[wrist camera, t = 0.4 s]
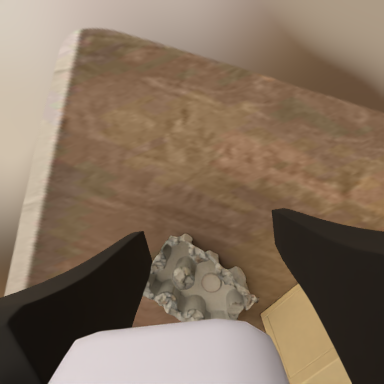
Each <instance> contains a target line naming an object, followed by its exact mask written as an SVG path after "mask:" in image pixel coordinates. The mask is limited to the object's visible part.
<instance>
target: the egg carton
mask: <svg viewBox="0 0 384 384" xmlns="http://www.w3.org/2000/svg"><path fill="white" fill-rule="evenodd" d="M143 296H145V297H147V298H149V299H152V300H154V301H156V302H157V303H158V305H159V306H163V307H164V309H165V311H166V313H167V314H170V315H173V316H174V317H176V318H177V319H178V320H180V321H181V322H189V321H198V320H207V319H216V318H217V319H227V320H237V319H238V315H239V313H240V312H241V311H242V310H243V309H244V308H245V309H246V310H248V309H249V308H250V307H251V306H252V305H253V303H254V302H256V303H258V301H259V297H258V298H256V297H255V295H253V294H250V293H249V291H248V287H247V284H246V277H245V275H244V273H243V271H242V270H241V269H240V268H239V267H237V266H235V267H234V268H231V269H225V268H223V267H222V266H220V264H219V260H218V254H216V253H214V252H212V251H210V250H208V251H207V252H204V251H202V250H201V249H199V248H197V247H196V246H194V245H192V238H191V237H190V236H189V235H188V234H183V235H182V236H180V237H174V236H170V237H169V239H168V240H167V241H166V242H165V243H164V245H163V247H162V249H161V251H160V253H159V254H158V255H157V256H156V258H155V259H154V261H153V263H152V266H151V271H150V276H149V279H148V282H147V285H146V288H145V290H144V293H143Z"/></svg>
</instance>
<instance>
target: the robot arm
mask: <svg viewBox="0 0 384 384" xmlns="http://www.w3.org/2000/svg"><path fill="white" fill-rule="evenodd" d="M272 218H273V228H274V238H275V245H276V247H277V249H278V251H279V253H280V255H281V257H282V259H283V261H284V262H285V264H286V265H287V267H288V269H289V270H290V272H291V273H292V275H293V276H294V278H295V279H296V280H297V282H298V283H299V285H300V286H301V288H302V289H303V291H304V292H305V294H306V295H307V297H308V299H309V300H310V302H311V304H312V305H313V307H314V309H315V311H316V313H317V315H318V317H319V319H320V321H321V322H322V324H323V326H324V328H325V330H326V332H327V334H328V336H329V338H330V340H331V342H332V344H333V346H334V348H335V350H336V352H337V354H338V356H339V358H340V360H341V362H342V364H343V366H344V368H345V370H346V372H347V375H348V377H349V379H350V381H351V383H352V384H384V232H382V231H374V230H368V229H362V228H356V227H351V226H346V225H342V224H337V223H333V222H330V221H326V220H322V219H319V218H315V217H312V216H309V215H306V214H303V213H300V212H296V211H293V210H290V209H285V208H282V209H276V210H272ZM151 266H152V258H151V255H150V252H149V248H148V245H147V242H146V238H145V235H144V231H140V232H134V233H131V234H129V235H127V236H126V237H124V238H122V239H121V240H119V241H118V242H116V243H115V244H113V245H112V246H110V247H109V248H107V249H105V250H104V251H102V252H101V253H99V254H97V255H96V256H94V257H92V258H91V259H89V260H88V261H86V262H84V263H82V264H80V265H79V266H77V267H75V268H73V269H71V270H69V271H67V272H65V273H63V274H60V275H58V276H56V277H54V278H51V279H49V280H47V281H45V282H42V283H40V284H37V285H35V286H32V287H30V288H27V289H24V290H22V291H19V292H16V293H13V294H11V295H8V296H5V297H2V298H0V384H290V383H289V380H288V377H287V374H286V371H285V368H284V365H283V363H282V360H281V357H280V355H279V353H278V351H277V349H276V347H275V345H274V343H273V341H272V339H271V337H270V336H269V335H268V334H266V333H264V332H263V331H261V330H259V329H257V328H256V327H254V326H252V325H250V324H249V323H247V322H245V321H238V320H227V319H217V318H216V319H207V320H198V321H189V322H180V323H171V324H161V325H152V326H143V327H134V328H132V324H133V321H134V318H135V315H136V312H137V309H138V307H139V304H140V301H141V299H142V296H143V293H144V290H145V288H146V285H147V282H148V279H149V276H150V271H151Z"/></svg>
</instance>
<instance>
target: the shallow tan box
mask: <svg viewBox="0 0 384 384" xmlns="http://www.w3.org/2000/svg"><path fill="white" fill-rule="evenodd" d="M260 315H261V318H262V321H263V324H264V327H265V330H266V334H268V335H269V336H270V337H271V339H272V341H273V343H274V345H275V347H276V349H277V351H278V353H279V355H280V357H281V360H282V363H283V365H284V368H285V371H286V374H287V377H288V380H289V383H290V384H352V383H351V381H350V379H349V377H348V375H347V372H346V370H345V368H344V366H343V364H342V362H341V360H340V358H339V356H338V354H337V352H336V350H335V348H334V346H333V344H332V342H331V340H330V338H329V336H328V334H327V332H326V330H325V328H324V326H323V324H322V322H321V321H320V319H319V317H318V315H317V313H316V311H315V309H314V307H313V305H312V304H311V302H310V300H309V299H308V297H307V295H306V294H305V292H304V291H303V289H302V288H301V286H300V285H299V283H298V284H297V285H296V286H295V287H293V288H292V289H291V290H290V291H288V292H287V293H286V294H285V295H283V296H282V297H281V298H280V299H279V300H277V301H276V302H275V303H274V304H272V305H271V306H270V307H269V308H267V309H266V310H265V311H264V312H262V313H261V314H260Z"/></svg>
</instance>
